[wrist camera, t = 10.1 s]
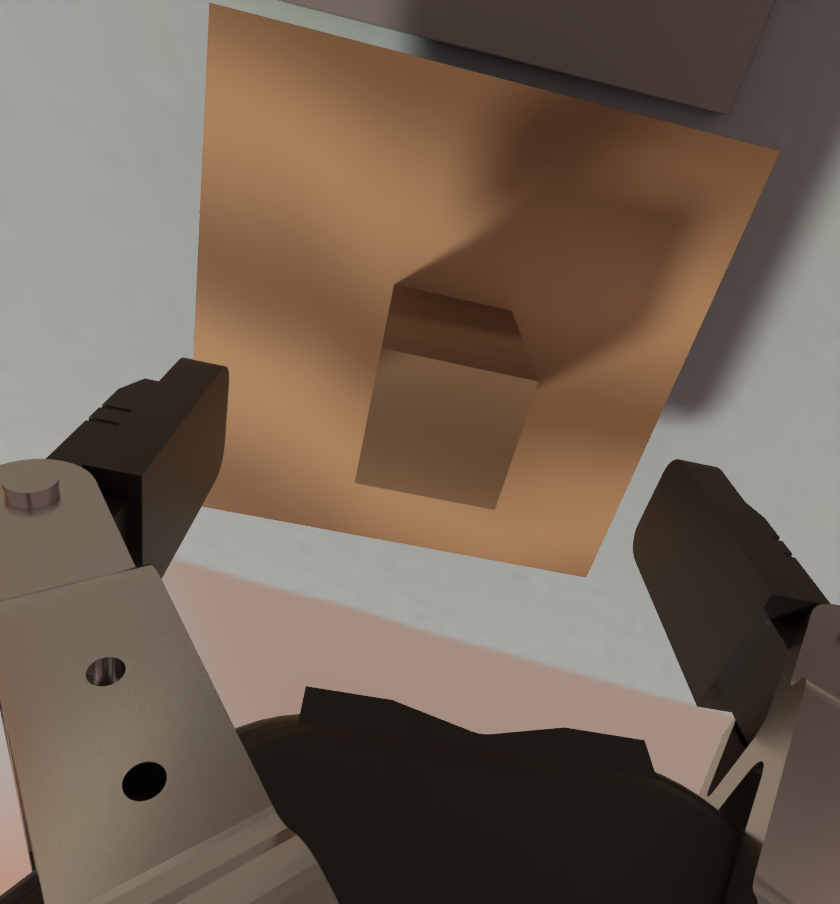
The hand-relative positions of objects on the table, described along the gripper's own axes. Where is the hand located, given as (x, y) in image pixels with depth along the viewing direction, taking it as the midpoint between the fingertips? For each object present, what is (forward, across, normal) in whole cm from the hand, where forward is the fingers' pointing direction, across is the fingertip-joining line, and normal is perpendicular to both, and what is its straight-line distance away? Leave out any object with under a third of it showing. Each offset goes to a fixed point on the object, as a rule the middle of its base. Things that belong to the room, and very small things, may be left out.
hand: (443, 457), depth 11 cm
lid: (+6, 0, 0) cm, 6 cm away
